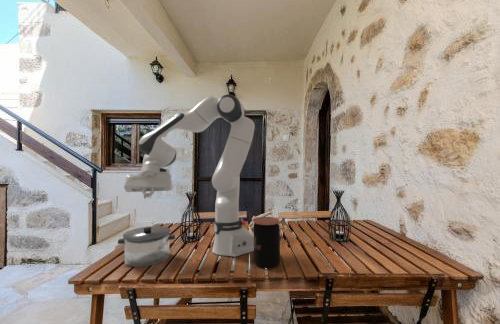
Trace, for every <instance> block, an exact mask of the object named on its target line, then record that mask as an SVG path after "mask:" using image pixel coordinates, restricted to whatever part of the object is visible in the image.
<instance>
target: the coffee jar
mask: <svg viewBox="0 0 500 324" xmlns="http://www.w3.org/2000/svg"><path fill="white" fill-rule="evenodd" d="M253 223H254V224H253V237H254V251H253V262H254V264H255V265H256V266H257V267H259V268H262V269H273V268H272V267H274V268H276V267H277V265H278V266H279V264H280V262H281V246H280V245H281V240H280V239H281V235H280V233H281V230H280V219H279V218H278V217H274V216H258V217H255V218H254V219H253ZM275 266H276V267H275Z"/></svg>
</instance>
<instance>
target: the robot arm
mask: <svg viewBox="0 0 500 324" xmlns="http://www.w3.org/2000/svg"><path fill="white" fill-rule="evenodd" d="M219 118H220V119H221V120H223V121H226V122H227V123H229V124H230V125H231V127H230V132H229V135H228V137H227V140H226V143H225V146H224V150H223V151H222V154H221V157H220V158H219V161H218V163H217V166H216V168H215V170H214V172H213V175H212V177H211V184H212V187H213V188H214V190H216V198H215V203H214V204H215V205H214V206H215V207H214V211H215V212H214V213H215V214H214V215H215V216H214V217H215V219H214V224H213V226H214V229H213V230H214V241H213V246H212V249H211V251H212V253H213V254H216V255H218V256H226V257H227V256H228V257H238V256H241V255H245V254H248V253H252V252H254V234H252V233H251V232H250V231H249V230H248V229H246V228H244V227H243V226H246V225H247V221H245V220H243V219H242V220H241V219H240V218H239V217H240V216H239V213H240V210H239V209H240V206H239V205H240V204H239V202H240V200H239V199H240V184H241V183H240V181H241V179H240V178H241V177H240V174H241V172H242V169H243V166H244V164H245V161H246V160H247V157H248V154H249V150H250V148H251V145H252V142H253V139H254V132H255V127H256V126H255V122H254V121H253V120H252V119H251V118H249V117H247V116H246V109H245V108H244V106H243V104H242V102H241V101H240V100H239V98H238V97H237V96H235V95H233V94H224V95H222V96H221V97H220V98H217V97H215V96H211V95H210V96H207V97H205V98H204V99H202V100H201V101H200V102H198V103H197V104H196V105H195V106H194V107H193V108H191V109H190V110H188V111H187V112H183V113H182V112H178V113H176V114H174V115H173V116H171V117H169V118H168V119H167V120H166V121H164V122H163V123H161V124H160V125H159V126H157V127H155V128H154V129H153V130H151V131H149V132H148V133H145V134H143V136H141V138H140V139H139V140H138V148H139V152H141V153H143V154H144V156H143V160H142V165H141V170H140V174H139V173H138V174H129V175H127V176H126V178H125V182H124V187H123V188H124V191H125V192H126V193H140V192H141V193H142V195H143V199H152V196H153V195H154V194H155V192H166V191H167V192H168V191H169V192H170V191H172V189H173V183H172V176H171V174H170V170H169V169H168V168H166V167H168V166H171V165H173V164H174V163H175V161H176V159H177V155H178V154H177V150H176V148H175V147H173V146H171V145H170V144H169V143H167V142H166V141H164V140H163V139H162V138H163V137H165V136H166V135H168V134H169V133H171V132H172V131H174V130H177V129H181V130H185V131H188V132H191V133H202V132H204V131H205V130H206V129H207V128H208V127H210V126H211V124H212V123H213V122H215V121H216V120H217V119H219ZM147 192H148V193H147Z"/></svg>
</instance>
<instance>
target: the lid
mask: <svg viewBox="0 0 500 324" xmlns="http://www.w3.org/2000/svg"><path fill="white" fill-rule="evenodd" d="M167 235H171V228H169V227H167V226H160V225H159V226H158V225H157V226H155V225H153V226H143V227H138V228H134V229H131V230H128V231H125V232H124V233H123V234H122V239H125V240H127V241H149V240H155V239H159V238H162V237H165V236H167Z"/></svg>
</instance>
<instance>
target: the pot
mask: <svg viewBox="0 0 500 324" xmlns="http://www.w3.org/2000/svg"><path fill="white" fill-rule="evenodd" d="M175 239H176V234H169V235H167V236H165V237H162V238H159V239H155V240H149V241H127V240H125V239H123V238H119V239H118V240H117V245H121V244H122V245H123V244H124V264H125V265H127V266H129V267H133V268H134V267H135V268H137V267H138V268H139V267H140V268H141V267H142V268H143V266H144V267H150V266H154V265H157V264H158V265H159V264H160V262H161V263H163V262H165V261H166V260H168V259H169V258H170V240H171V241H172V240H175ZM162 261H163V262H162ZM149 265H150V266H149Z"/></svg>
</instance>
